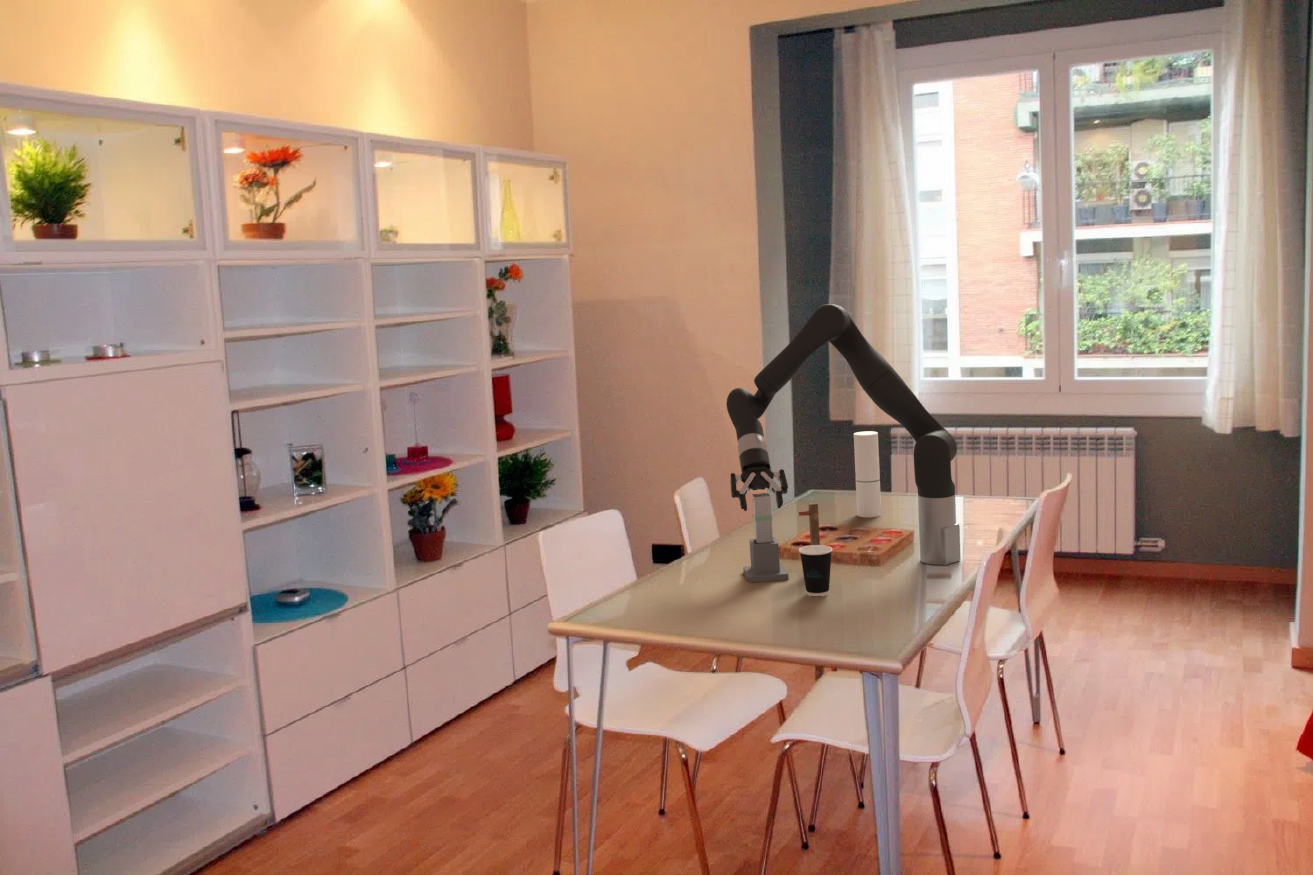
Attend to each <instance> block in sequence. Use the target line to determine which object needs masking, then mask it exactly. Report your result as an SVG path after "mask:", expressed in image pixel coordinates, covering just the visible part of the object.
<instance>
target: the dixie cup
mask: <svg viewBox="0 0 1313 875" xmlns="http://www.w3.org/2000/svg"><path fill="white" fill-rule="evenodd" d="M798 552H799V555H800V560H801V565H802V573H803V580H804V585H805V591H806V592H807V595H808V594H809V595H811V596H822V595H826V594H828V595H829V591H830V582H831V580H830V579H831V564H832V552H833V547H831V546H829V545H824V544H820V545H811V544H810V545H805V546H802V547H800V548H799V549H798ZM811 596H810V597H811ZM826 596H827V595H826Z"/></svg>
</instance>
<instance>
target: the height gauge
mask: <svg viewBox="0 0 1313 875" xmlns="http://www.w3.org/2000/svg"><path fill="white" fill-rule="evenodd" d="M798 516H799V517H803V516H808V518H809V536H810V537H809V538H810V539H809V540H810V545H821V539H820V523H819V522H820V520H819V519H820V518H819V516H820V515H819V504H818V502H808V510H799V511H798Z"/></svg>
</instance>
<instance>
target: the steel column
mask: <svg viewBox="0 0 1313 875" xmlns="http://www.w3.org/2000/svg"><path fill="white" fill-rule="evenodd" d="M751 494H752V495H751V498H752V512H753V513H752V519H753V529H754V530H753V531H754V534H753V535H754V539H755V544H766V543H773V515H772V506H771V505H772V504H771V495H770V493H769V492H761V493H751Z"/></svg>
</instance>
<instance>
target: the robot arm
mask: <svg viewBox="0 0 1313 875" xmlns="http://www.w3.org/2000/svg"><path fill="white" fill-rule="evenodd" d="M828 342H829V343H830V344H831V345H832V346H833V347H834V348H835V349H836V350H837V351H838V352H839V353H840V355H842V357H843V358H844V359H845V360H846V362H847V365H849V367H850V368H851V371H852V373H853V375H854V376H855V379H856V381H857V382H858V383H859V386H861V388H862V390H864V392H865V393H866V395H867V396H868V397H869V398H870V400H872V401H873V403H874V404H875V405H876V406H877V407H878V408H879V409H880V410H881V411H883V413H885V414H886V415H887V416H889V417H891V418H892V419H894V420H895V421H896V422H898V423H899V424H900V425H901V426H903V428H905V430H906V431H907V433H908V434H909V435H910V436H911V437H912V438H913V440H914V441H915V443H914V447H913V469H914V471H913V472H914V481H915V482H914V483H915V486H916V488H917V508H918V513H917V514H918V531H919V532H918V533H919V534H918V535H919V538H918V539H919V560H920V562H921V563H924V564H927V565H936V566H937V565H938V566H940V565H941V566H948V565H951V564H954V563H957V562H959V561H961V533H960V532H961V531H960V530H961V528H960V527H961V526H960V524H959V523H957V511H956V508H957V506H956V505H957V504H956V485H955V482H954V481H953V478H952V463H951V462H952V461H953V460H954V459H955V457H956V455H957V451H958V450H957V449H958V446H957V443H956V439H955V438H954V436H953V435H952V434H951V433H950V432H949V431H948V430H947V429H946V428H945V427H944V426H943V425H942V424H941V423H940V422H938V420H937V419H936V418H935V417H933V416H932V414H931V413H930V412H929V411H928V410H927V409H926V408H925V406H924V405H923V404H922V403H921V401H920V400H919V398H918V397H917V395H915V394H914V392H913V391H912V389H911V388H909V387H908V385H907V384H906V382H905V381H904V380H903V378H901V376H900V374H899V373H898V372H897V371H896V370H895V369H894V367H893V366H892V365H891V364H890V363H889V362H888V361H887V360H886V359H885V358H884V357H883V356H882V354H881V353H879V351H878V350H877V349H875V347H874V346H872V345H871V343H870V342H869V341H868V340H867V338H866V337H865V336H864V335H863V333H862V332H861V331H860V329H859V327H858V325H856V323H855V322H854V320H853V318H852V317H851V316H850V314H849V312H848V311H847V309H845V308H844V307H842V306H841V305H838V304H833V303H825V304H821V305H820V306H819V307H818V308H816V309H815V311H814V312H813V314H811V316H810V318H809V319H808V320H807V321H806V323H805V324H804V326H803V327H802V328H801V329H800V331H799V332H798V333H797V334H796V336H795V337H794V338H793V339H792V340H791V341H790V342H789V343H788V345H786V347H785V348H784V349H783V350H781V351H780V352H779V353H778V354H777V355H776V356H775V357H774V358H773V359H772V360H771V361H770V362H768V363H767V365H766V366H765V367H764V368H762V369H761V370H760V371H759V373H757V374H756V376H755V377H754V379H753V382H754V385H755V387H756V388H757V390H756V392H755V394H753V393H751V392H750V391H749V390H747V389H746V388H744V387H743V388H742V387H736V388H733V389H732V390H731V391H730V392H729V394H728V395H727V398H726V411H727V413H728V416H729V417H730V420H731V423H732V425H733V427H734V429H735V434H736V439H737V445H738V446H737V452H738V454H737V455H738V458H739V464H740V466H739V467H740V471H741V474H735V472H732V473H730V476H729V478H730V493H731V495H730V496H731V497H732V498H733V499H735V498H737V499H739V506H740V508H741V510H743V511H744V512H747V511H748V504H747V499H746V498H747V495H748V493H749V492H750V490H752V491H758V490H766V489H767V490H768V491H769V492H770V493H773V495H775V502H776V507H777V509H781V507H783V504H784V499H783V495H785V494H788V489H789V485H788V481H787V477H786V472H785V470H784V469H779V471H773V470H772V468H771V463H770V462H771V461H770V457H769V450H768V445H767V443H766V440H765V434H764V430H763V425H762V423H761V421H760V420H759V419H760V418H761V417H762V416H763V415H764V413H765V412H766V410H767V408H768V407H769V406H770V404H771V402H772V400H773V399H774V397H775V396H776V394H777V393H778V392H779V391H780V390H781V389H782V388H784V387H785V386H786V384H788V383H789V382H790V381H791V380H792V379H793V377H794V376H795V375H796V374H797V373H798V371H799V370H800V369H801V367H802V366H803V365H804V364H805V362H806V361H807V360H808V359H809V358H810V357H811V356H812V355H813V353H815V352H816V351H817V350H818V349H821V347H823V345H825V344H827V343H828ZM774 478H776V480H777V481H779V483H780V486H779V485H778V484H777V482H776V481H775V480H774ZM739 481H741V482H742V483H743V485H742V487H741V488H740V490H739V489H737V484H739Z"/></svg>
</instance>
